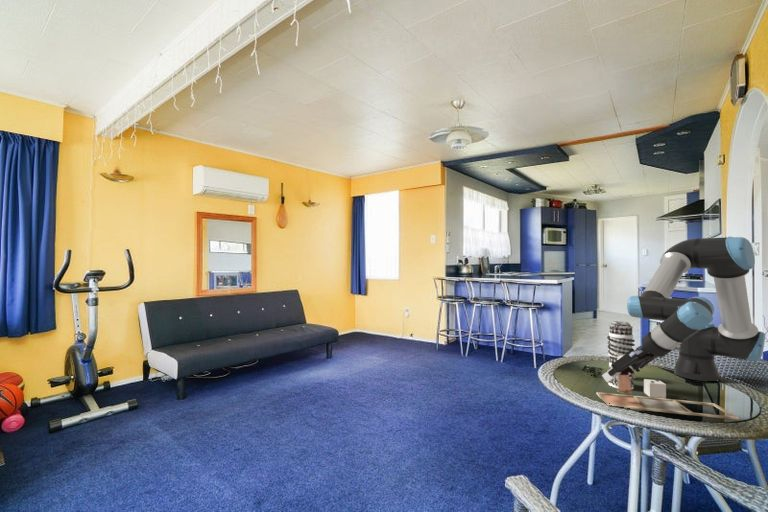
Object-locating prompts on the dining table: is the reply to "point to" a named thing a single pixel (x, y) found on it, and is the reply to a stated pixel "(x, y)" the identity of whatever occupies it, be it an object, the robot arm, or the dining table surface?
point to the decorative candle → (619, 345)
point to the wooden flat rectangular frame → (658, 405)
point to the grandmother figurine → (625, 379)
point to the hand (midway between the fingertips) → (612, 377)
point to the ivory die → (655, 388)
